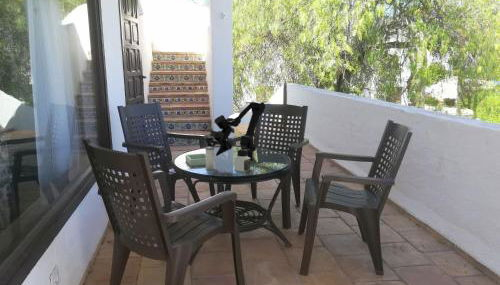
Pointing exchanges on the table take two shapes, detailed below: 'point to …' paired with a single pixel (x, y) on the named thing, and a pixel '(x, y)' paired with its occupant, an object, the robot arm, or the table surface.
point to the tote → (196, 160)
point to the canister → (209, 158)
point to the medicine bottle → (242, 161)
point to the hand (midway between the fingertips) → (211, 154)
